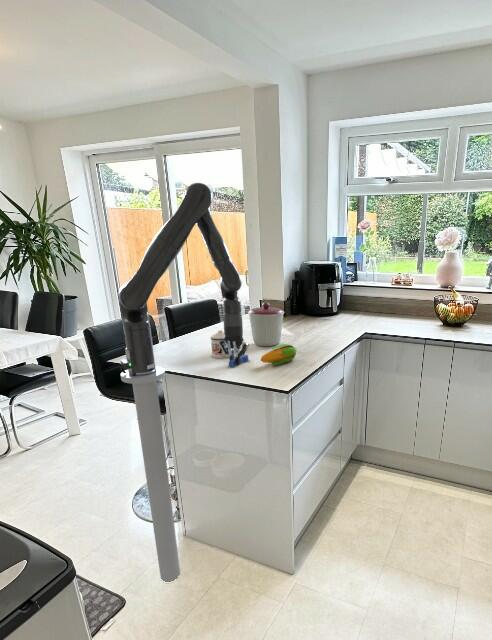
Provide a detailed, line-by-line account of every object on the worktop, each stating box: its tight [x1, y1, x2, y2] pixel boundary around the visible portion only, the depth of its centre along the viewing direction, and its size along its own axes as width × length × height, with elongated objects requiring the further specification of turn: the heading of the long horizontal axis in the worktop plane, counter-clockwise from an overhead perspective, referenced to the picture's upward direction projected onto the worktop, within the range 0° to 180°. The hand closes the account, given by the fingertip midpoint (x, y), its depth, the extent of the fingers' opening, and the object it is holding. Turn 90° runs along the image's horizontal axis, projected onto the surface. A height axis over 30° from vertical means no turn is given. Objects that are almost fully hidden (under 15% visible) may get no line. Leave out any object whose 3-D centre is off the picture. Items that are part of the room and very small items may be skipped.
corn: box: [260, 343, 298, 366], centre depth 169 cm, size 7×8×20 cm
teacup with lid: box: [210, 329, 229, 359], centre depth 178 cm, size 12×9×12 cm
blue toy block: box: [228, 353, 249, 368], centre depth 169 cm, size 12×4×2 cm, turn 157°
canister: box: [247, 301, 285, 347], centre depth 199 cm, size 18×18×21 cm
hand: (235, 364), depth 167 cm, fingers closed on blue toy block, 2 cm apart
